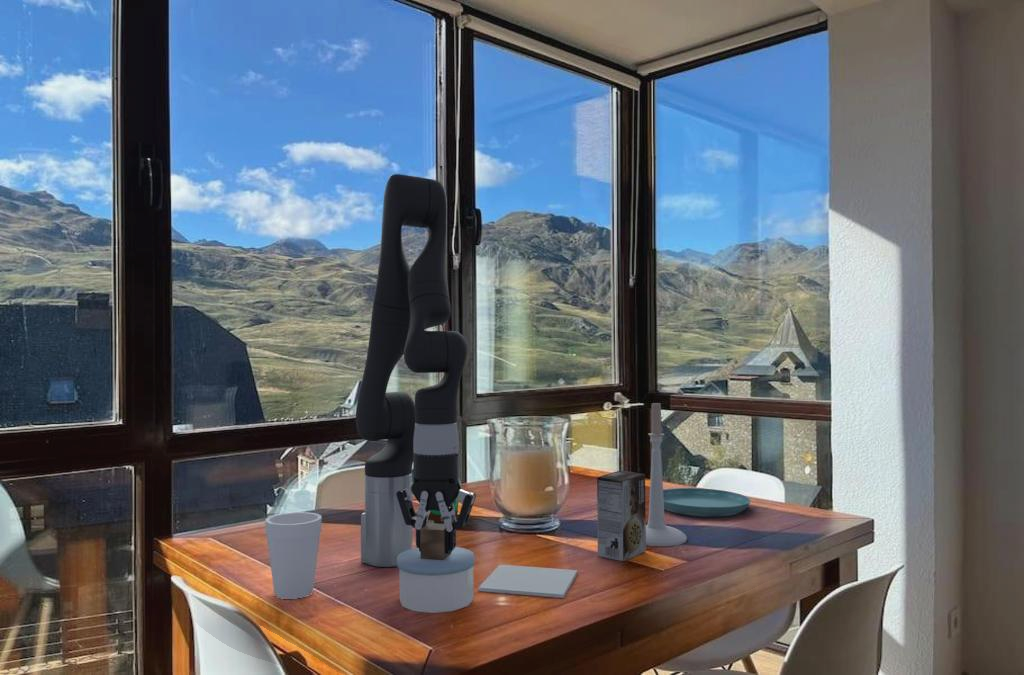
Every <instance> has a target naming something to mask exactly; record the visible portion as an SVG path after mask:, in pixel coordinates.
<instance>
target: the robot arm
mask: <svg viewBox="0 0 1024 675" xmlns="http://www.w3.org/2000/svg"><path fill="white" fill-rule="evenodd" d="M381 220H382V222H381V236H380V253H379V261H378V269H377V276H376V283H375V287H374V294H373V301H372V302H373V303H372V310H371V317H370V318H371V319H370V328H369V329H370V331H369V338H368V339H369V340H368V346H367V352H366V353H367V354H366V360H365V364H364V371H363V375H362V380H361V384H360V388H359V393H358V398H357V401H356V402H357V404H356V407H355V408H356V410H355V425H356V426H355V427H356V431H357V434H358V435H359V436H360V438H361V439H363V440H365V441H371V442H372V441H375V442H376V441H384V440H386V444H385V446H384V447H383V448H382V449H381V450H380V451H379V452H377V453H375V454H373V455H372V456H370V457H369V458H367V459H366V460H365V463H364V512H362V513H361V514H360V563H362V564H366V565H369V566H372V567H377V568H378V567H379V568H381V567H382V568H388V567H389V568H390V567H392V568H393V567H397V556H398V555H399V554H400V553H402V552H404V551H406V550H409V549H413V528H414V529H415V546H416V548H419V551H420V529H421V528H422V527H424V526H425V525H426V524H427V520H428V516H429V514H430V512H431V510H436V511H440V512H441V516H442V518H443V520H444V524H445V528H446V532H445V554H450V553H451V552H452V551H453V549H455V547H457V530H460V529H462V528H463V527H465V526H466V525H467V524H468V522H469V519H470V516H471V513H472V510H473V506H474V503H475V500H476V497H477V495H476V492H474V491H471V492H469V491H466V490H464V489H463V488H462V489H461V487H460V485H459V482H458V479H459V449H460V443H459V430H458V426H457V425H458V423H457V422H458V420H457V417H458V414H457V413H458V412H457V410H458V404H457V403H458V401H457V400H458V392H459V387H460V382H461V378H462V375H463V371H464V368H465V364H466V361H467V356H468V343H467V341H466V338H465V337H464V336H463V335H462V334H461V333H460V332H459V331H455V330H427V329H430V328H433V327H437V326H438V327H439V326H442V325H444V324H445V323H446V322H447V321H449V319H450V317H451V315H452V309H451V302H450V300H451V299H450V294H449V293H450V292H449V285H448V276H447V244H448V243H447V242H448V241H447V238H448V237H447V236H448V234H447V233H448V231H447V228H448V227H447V226H448V225H447V224H448V200H447V192H446V188H445V187H444V185H443V184H442V182H441V181H439V180H436V179H432V178H426V177H420V176H415V175H407V174H400V173H399V174H398V173H395V174H392V175H391V176H390V177H389V178H388V180H387V181H386V186H385V190H384V194H383V206H382V219H381ZM403 226H405V227H413V228H418V229H419V228H420V229H426V231H427V239H426V243H425V244H424V246H423V248H422V250H421V251H420V253H419V255H418V256H417V258H416V259H415V261H414V262H413V264H412V266H411V267H410V264H409V262H408V260H407V256H406V254H405V250H404V244H403V234H402V233H403V231H402V230H403ZM402 357H403V360H404V363H405V365H406V366H407V368H408V369H409V370H410V371H411V372H413V373H416V374H432V373H433V374H434V373H435V374H436V373H437V374H438V373H441V374H442V373H443V376H442V379H441V380H440V381H439V382H438V383H436V384H433V385H430V386H425V387H422V388H418V390H416V392H415V394H414V399H413V397H412V396H411V395H410V394H409V393H407V392H404V391H393V392H392V391H389V392H387V389H388V384H389V382H390V378H391V375H392V373H393V371H394V370H395V368H396V365H397V364H398V362H399V361H400V360H401V358H402ZM458 496H459V502H460V503H459V504H461V508H460V510H459V514H458V516H457V521H456V518H455V509H454V505H453V502H454V501H455V500H456V498H457V497H458ZM413 497H415V499H416V501H417V502H418V503H419V504H418V507H417V512H416V511H415V507H414V504H413Z"/></svg>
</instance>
